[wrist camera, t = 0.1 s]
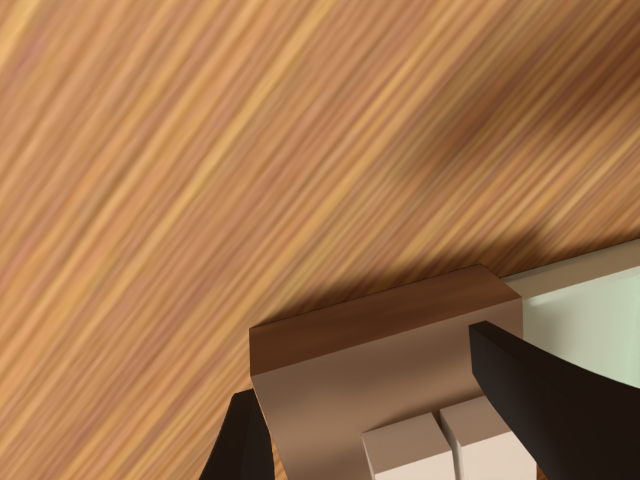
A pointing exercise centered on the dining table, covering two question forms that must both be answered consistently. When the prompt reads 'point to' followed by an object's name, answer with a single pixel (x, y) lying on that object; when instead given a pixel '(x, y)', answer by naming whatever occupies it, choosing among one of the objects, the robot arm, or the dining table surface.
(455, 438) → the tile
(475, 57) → the dining table surface
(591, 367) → the tray
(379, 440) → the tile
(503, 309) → the dark wooden board
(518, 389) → the robot arm
